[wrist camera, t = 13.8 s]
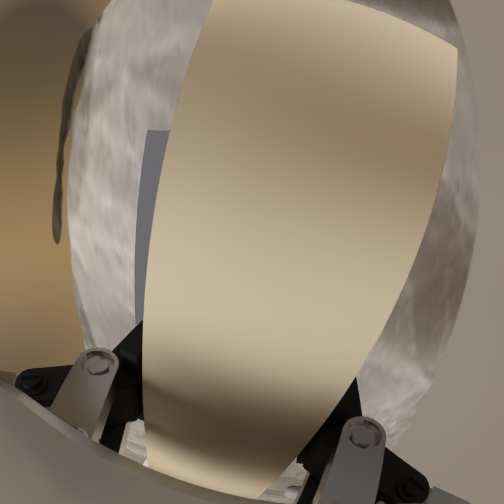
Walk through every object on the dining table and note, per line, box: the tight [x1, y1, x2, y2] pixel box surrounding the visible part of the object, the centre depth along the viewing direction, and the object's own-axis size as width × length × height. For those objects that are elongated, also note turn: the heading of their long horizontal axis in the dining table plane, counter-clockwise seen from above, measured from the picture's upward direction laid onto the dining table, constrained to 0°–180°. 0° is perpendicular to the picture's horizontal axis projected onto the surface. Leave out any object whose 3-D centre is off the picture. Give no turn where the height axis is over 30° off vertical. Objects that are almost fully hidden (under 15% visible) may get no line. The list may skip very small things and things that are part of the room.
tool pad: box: [135, 130, 170, 324], centre depth 32 cm, size 26×9×1 cm, turn 170°
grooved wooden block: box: [142, 0, 457, 499], centre depth 9 cm, size 20×4×6 cm, turn 166°
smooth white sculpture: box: [284, 486, 301, 500], centre depth 44 cm, size 4×8×5 cm
